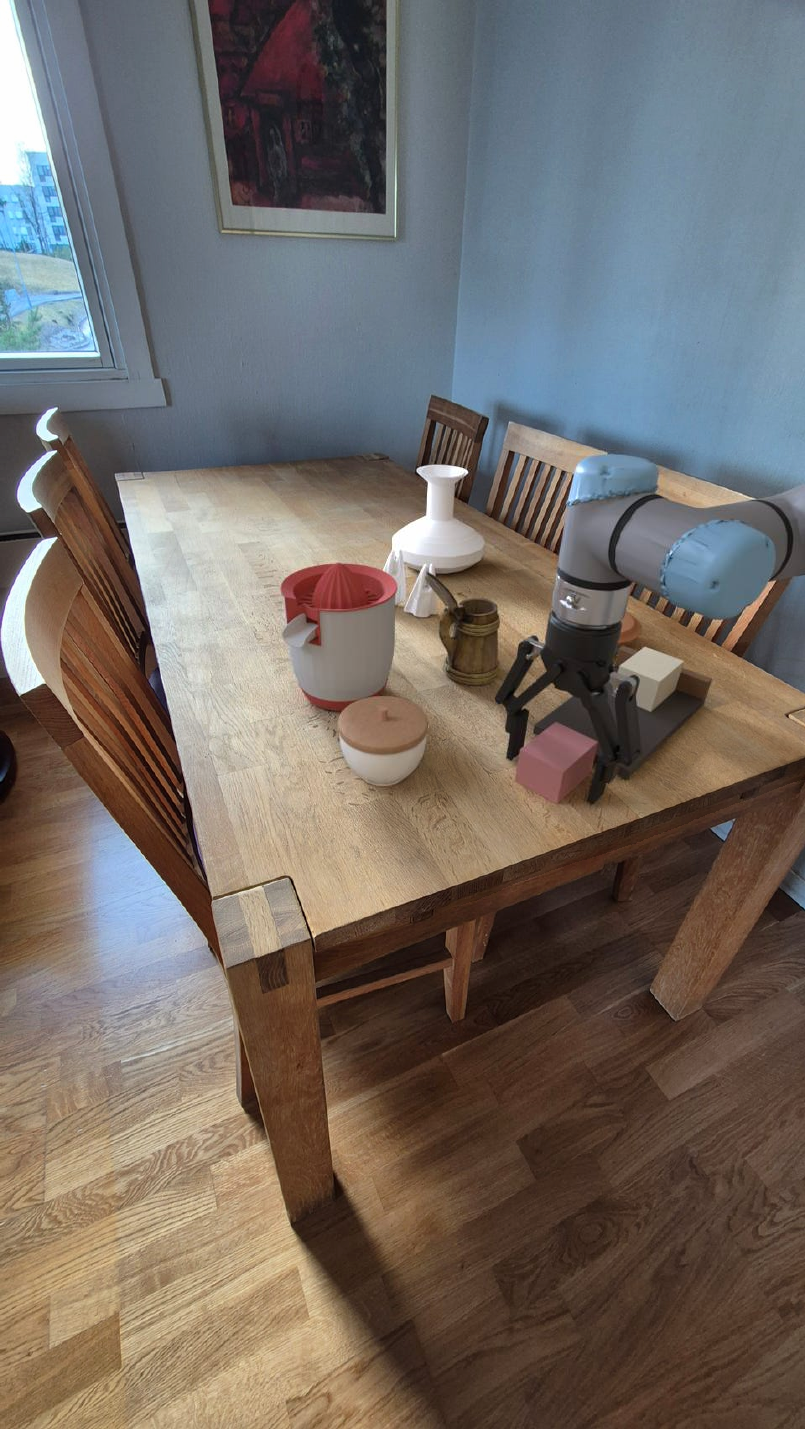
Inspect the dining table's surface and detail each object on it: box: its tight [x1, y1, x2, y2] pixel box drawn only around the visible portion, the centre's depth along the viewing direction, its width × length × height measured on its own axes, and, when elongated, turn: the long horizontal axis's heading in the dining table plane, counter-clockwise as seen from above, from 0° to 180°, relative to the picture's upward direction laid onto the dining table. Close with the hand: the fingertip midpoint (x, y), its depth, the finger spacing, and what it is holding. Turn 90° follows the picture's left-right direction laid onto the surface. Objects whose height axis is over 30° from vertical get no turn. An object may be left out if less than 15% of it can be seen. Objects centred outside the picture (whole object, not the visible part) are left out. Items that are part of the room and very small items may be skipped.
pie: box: [615, 611, 643, 655], centre depth 107 cm, size 15×16×5 cm
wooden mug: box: [425, 572, 501, 686], centre depth 93 cm, size 9×14×18 cm, turn 118°
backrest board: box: [532, 646, 713, 781], centre depth 88 cm, size 14×24×4 cm, turn 137°
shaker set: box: [382, 549, 438, 618], centre depth 114 cm, size 12×4×11 cm, turn 60°
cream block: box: [612, 646, 685, 712], centre depth 90 cm, size 6×8×5 cm
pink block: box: [514, 722, 598, 805], centre depth 77 cm, size 6×8×5 cm
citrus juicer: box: [279, 562, 398, 712], centre depth 87 cm, size 16×17×20 cm
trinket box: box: [337, 695, 429, 787], centre depth 76 cm, size 11×11×9 cm
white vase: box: [392, 464, 486, 574], centre depth 131 cm, size 20×20×19 cm
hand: (553, 775), depth 78 cm, fingers open, 11 cm apart
